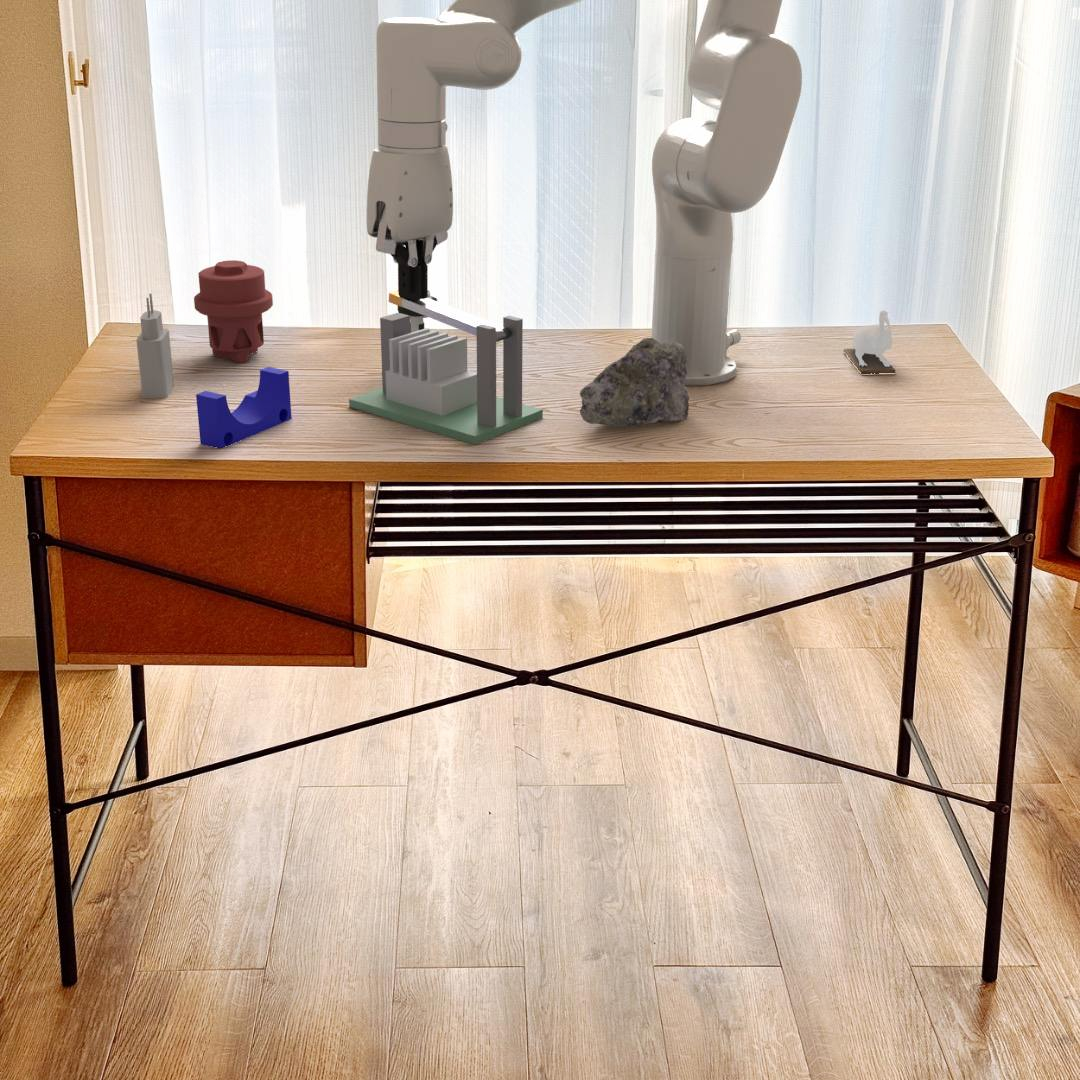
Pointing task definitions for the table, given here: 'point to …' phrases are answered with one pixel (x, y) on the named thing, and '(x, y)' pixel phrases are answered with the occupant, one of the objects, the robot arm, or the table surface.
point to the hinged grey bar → (448, 315)
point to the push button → (415, 316)
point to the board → (449, 382)
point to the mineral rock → (639, 387)
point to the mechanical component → (233, 308)
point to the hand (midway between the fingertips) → (412, 297)
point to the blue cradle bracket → (245, 410)
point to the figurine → (872, 347)
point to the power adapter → (154, 355)
